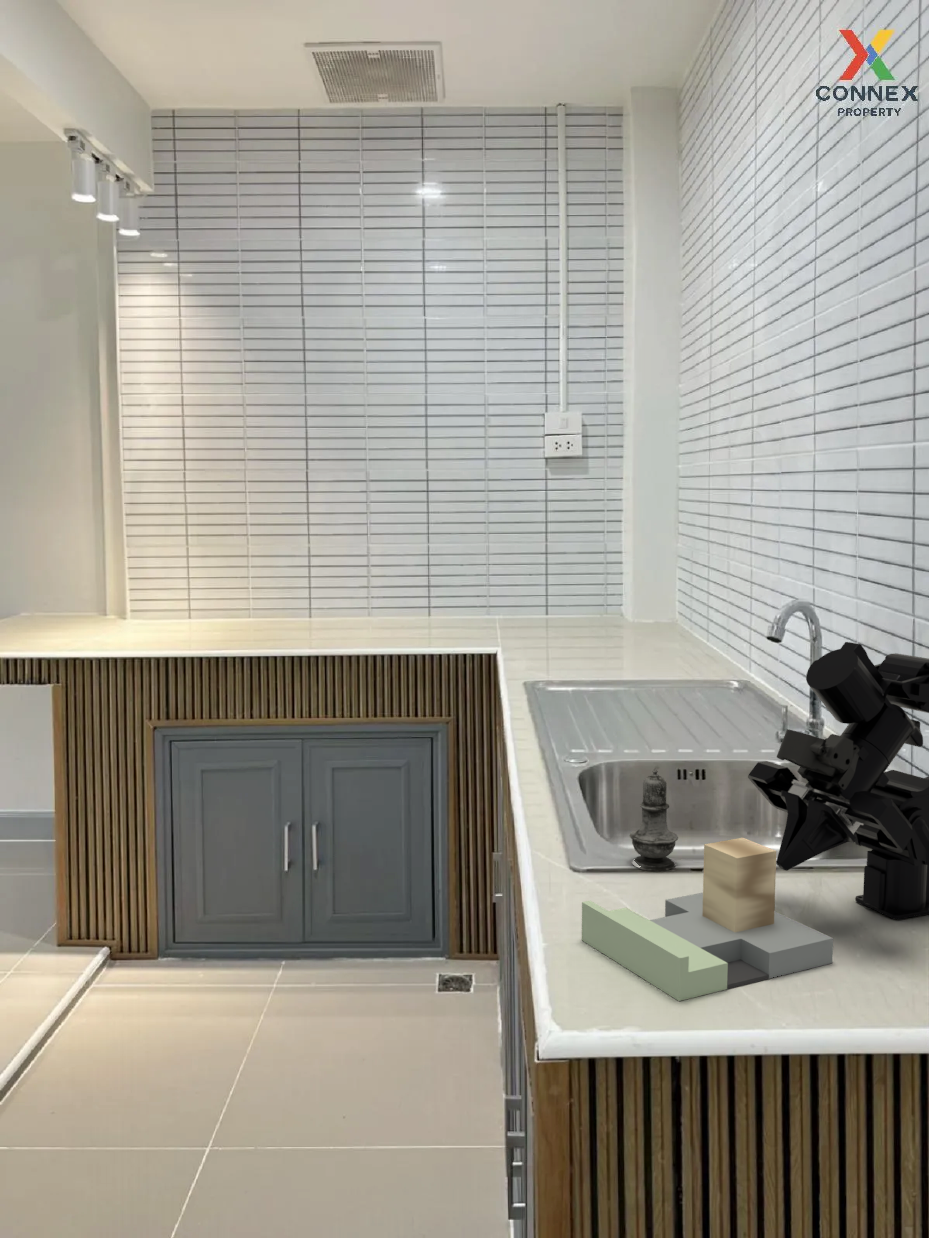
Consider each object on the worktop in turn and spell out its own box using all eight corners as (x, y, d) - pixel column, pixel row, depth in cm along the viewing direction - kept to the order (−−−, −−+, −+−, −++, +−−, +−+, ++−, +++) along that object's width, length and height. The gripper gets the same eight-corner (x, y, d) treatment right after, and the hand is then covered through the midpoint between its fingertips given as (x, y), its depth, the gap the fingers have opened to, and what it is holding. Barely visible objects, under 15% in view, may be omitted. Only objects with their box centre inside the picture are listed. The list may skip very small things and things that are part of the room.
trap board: (724, 910, 127) (725, 874, 127) (832, 962, 113) (833, 923, 113) (581, 939, 119) (581, 901, 118) (679, 1000, 105) (679, 958, 104)
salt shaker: (644, 874, 139) (646, 775, 138) (620, 859, 145) (621, 764, 143) (686, 868, 141) (689, 771, 140) (661, 854, 147) (663, 760, 145)
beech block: (740, 907, 121) (742, 837, 120) (774, 923, 117) (776, 850, 116) (702, 915, 119) (704, 844, 118) (734, 932, 114) (737, 858, 114)
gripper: (763, 688, 128) (680, 798, 125) (897, 718, 112) (806, 845, 108) (814, 751, 133) (736, 859, 129) (950, 789, 116) (864, 913, 113)
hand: (780, 867), depth 120 cm, fingers closed
